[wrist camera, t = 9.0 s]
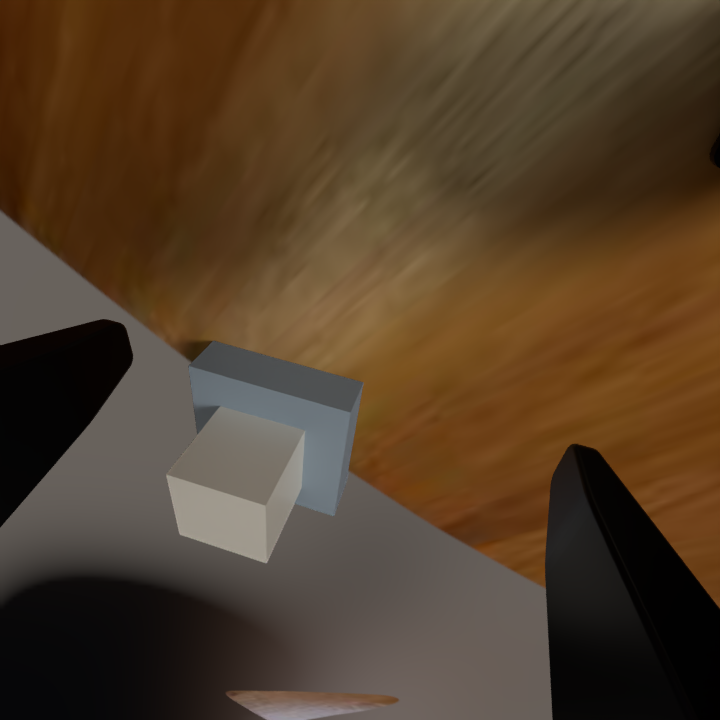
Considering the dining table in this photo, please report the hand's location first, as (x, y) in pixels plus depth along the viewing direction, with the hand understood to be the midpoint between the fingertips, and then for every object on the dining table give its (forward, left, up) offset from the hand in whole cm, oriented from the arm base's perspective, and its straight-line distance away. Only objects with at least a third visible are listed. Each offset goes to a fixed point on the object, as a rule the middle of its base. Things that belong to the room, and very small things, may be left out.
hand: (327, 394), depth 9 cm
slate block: (+6, +14, -13) cm, 20 cm away
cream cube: (+6, +15, -10) cm, 19 cm away
